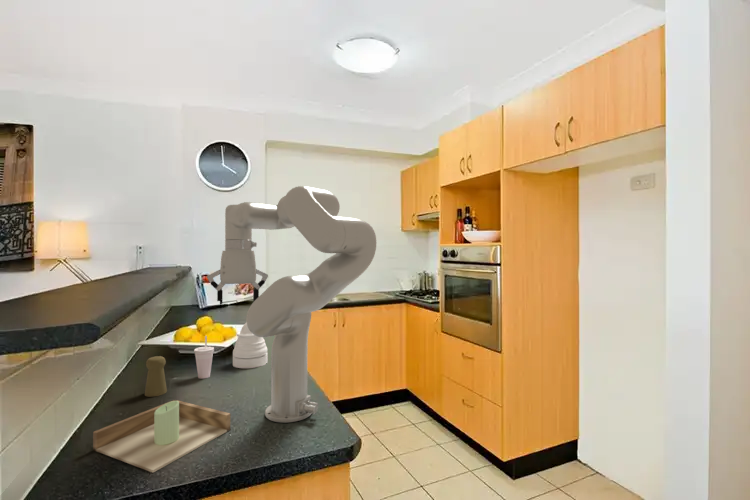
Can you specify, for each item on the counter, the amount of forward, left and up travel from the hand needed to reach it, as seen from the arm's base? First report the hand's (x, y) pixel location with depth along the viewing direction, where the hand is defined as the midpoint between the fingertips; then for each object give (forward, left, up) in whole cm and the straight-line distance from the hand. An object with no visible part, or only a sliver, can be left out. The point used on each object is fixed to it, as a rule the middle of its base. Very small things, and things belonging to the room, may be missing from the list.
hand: (238, 302), depth 116 cm
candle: (-6, +28, -28) cm, 40 cm away
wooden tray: (-5, +27, -28) cm, 39 cm away
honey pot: (+20, -27, -28) cm, 44 cm away
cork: (+24, +9, -28) cm, 38 cm away
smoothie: (+23, -8, -28) cm, 37 cm away
